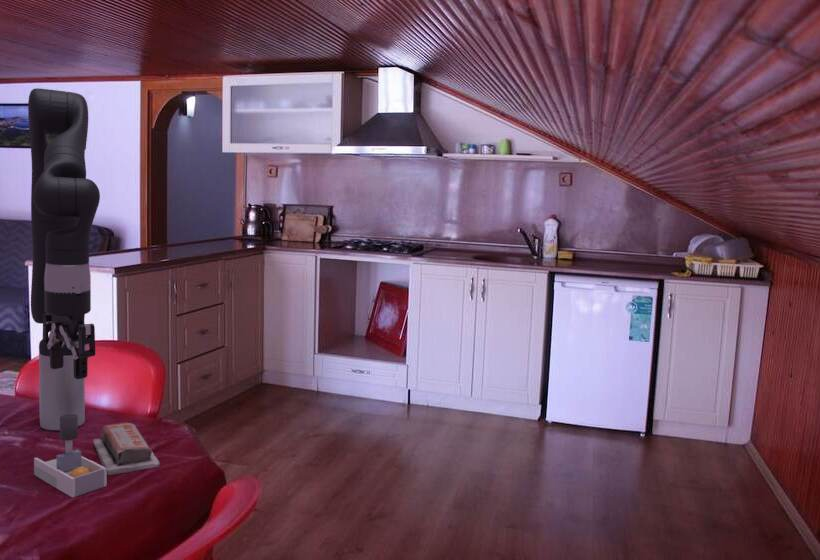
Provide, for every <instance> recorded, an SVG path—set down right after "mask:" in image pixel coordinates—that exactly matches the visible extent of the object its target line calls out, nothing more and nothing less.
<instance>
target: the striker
mask: <svg viewBox="0 0 820 560" xmlns="http://www.w3.org/2000/svg"><path fill="white" fill-rule="evenodd" d="M78 427H79V426H78V416H77V415H75V414H68V415H63V416H61V417H60V430H59V439H60V441H65V443H64V445H65V448H64V449H65V450H64V451H65V452H64V453H61V454H57V455H56V458H55V459H56V461H57V469H58V470H61V471H63V472H65V471H68V470H71V469H74V468H78V467H81V456H82V450H79V449H74V450H73V440H75V439H77V438H78V435H79V434H78V433H79V429H78Z"/></svg>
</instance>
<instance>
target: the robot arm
mask: <svg viewBox="0 0 820 560" xmlns="http://www.w3.org/2000/svg"><path fill="white" fill-rule="evenodd" d="M27 103H28V105H27V109H28V110H27V113H28V127H29V141H30V156H31V157H30V158H31V190H30V191H31V192H30V193H31V194H30V195H31V196H30V198H31V199H30V213H31V215H30V216H31V217H30V219H31V239H32V242H31V243H32V267H31V284H30V285H31V287H30V288H31V290H30V312H31V317H32V319H33V321H34V322H35V323H36V324H42V339H41V340H40V341H39V343H38V361H39V362H38V367H39V372H38V373H39V384H38V387H39V388H38V395H39V396H38V399H39V402H38V403H39V407H38V408H39V424H40V425H39V427H40V428H41V429H43V430H47V431H60V417H61V416H63V415H68V414H75V415H77V416H78V427H80V426H82V425H84V424H85V421H86V417H85V414H86V413H85V412H86V411H85V409H86V408H85V407H86V406H85V405H86V404H85V403H86V402H85V401H86V399H85V397H86V395H85V394H86V392H85V391H86V390H85V389H86V388H85V385H86V384H85V382H86V380H85V379H86V378H87V377H88V358H90V357H95V356H96V331H95V324H94V323H85V318H86V317H85V315H87V314H89V313H90V312H91V309H92V306H91V304H92V303H91V302H92V299H91V296H92V295H91V292H92V290H91V288H92V287H91V282H92V281H91V279H92V278H91V277H92V276H91V269H90V238H91V231H92V226H93V223H94V219H95V217H96V215H97V211H98V207H99V204H100V201H101V200H100V198H101V195H100V194H101V193H100V189H99V187H98V185H97V184H96V183H95V182H94V181H93V180H91V179H89V178H87V168H86V167H87V166H86V159H85V157H86V155H85V154H86V147H87V141H88V132H89V131H88V129H89V107H88V102H87V100H86V98H85V97H84V96H83V95H82V94H79V93H77V92H71V91H65V90H57V89H49V88H33V89H32V90H30V92H29V96H28V102H27ZM47 135H51V136H52V135H53V136H56V137H55V138H53V139H52V140H51V141H50V142H49V143H48V140H47ZM88 345H89V346H88Z"/></svg>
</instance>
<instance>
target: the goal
mask: <svg viewBox="0 0 820 560" xmlns="http://www.w3.org/2000/svg"><path fill="white" fill-rule="evenodd" d="M88 470H89V471H90V473H86V474H83V475H80V476H77V477H74V478H73V477H72V476H70V475H68V474H66V473H64V472H63V471H61V470H57V488H56V489H57V490H59V491H61V492H62V493H64V495H65V494H66V495H67V496H69V497H70V498H72V499H73V498H76V497H79V496H81V495H84V494H87V493H90V492H92V491H96V490H99V489H102V488H104V487H105V488H106V487H107V485H108V484H107V478H108V477H107V476H108V474H107V468H105V467H103V465H102V464H99V463H98V462H95V461H93V460H91V459H89V461H88Z"/></svg>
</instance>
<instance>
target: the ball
mask: <svg viewBox="0 0 820 560" xmlns="http://www.w3.org/2000/svg"><path fill="white" fill-rule="evenodd" d="M86 473H90V471H89V470H88V469H87V468H86V467H78V468H75V469H74V470H73V471H72V472H71V474H70V476H72V477H73V478H74V477H77V476H80V475H83V474H86Z"/></svg>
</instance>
